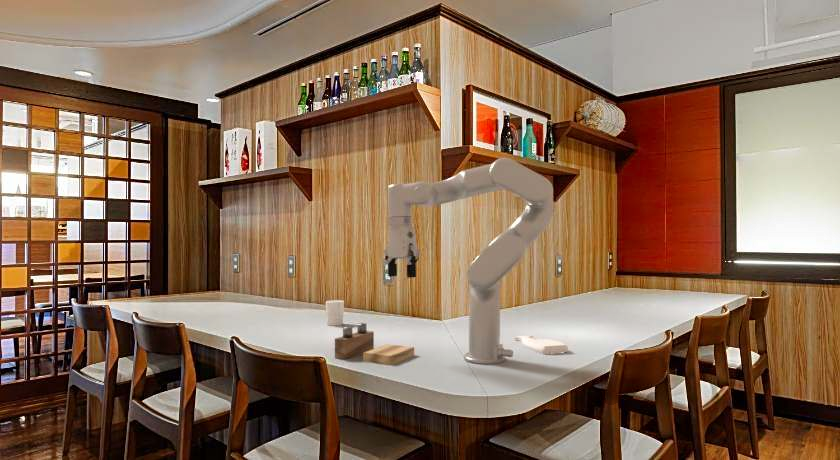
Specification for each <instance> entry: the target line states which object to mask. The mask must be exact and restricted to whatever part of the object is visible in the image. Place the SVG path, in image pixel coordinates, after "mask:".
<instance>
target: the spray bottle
mask: <svg viewBox="0 0 840 460" xmlns="http://www.w3.org/2000/svg"><path fill="white" fill-rule="evenodd" d="M515 340H518V342H521V341H522V342H521V343H522V344H523V346H524V347H525V348H526V349H528V348H529V349H528V350H530V349H531V350H530V351H532V350H534V351H533V352H535V351H536V352H535V353H538V352H539V353H538V354H541V353H543V354H542V355H549V354H548V353H560V354H562V353H561V352H567V353H568V351H569V347H568V346H567V345H566V344H565V343H563V342H560V341H557V340H554V339H545V338H544V339H541V338H539V339H538V338H534V336H533V335H518V336H514V341H515Z"/></svg>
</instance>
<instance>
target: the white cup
mask: <svg viewBox="0 0 840 460" xmlns="http://www.w3.org/2000/svg"><path fill="white" fill-rule="evenodd" d="M344 312H345V301H344V300H341V299H335V300H334V299H333V300H332V299H331V300H326V301H325V315H326V325H327V326H332V327H334V326H335V327H336V326H342V325H343V323H344V314H345V313H344Z"/></svg>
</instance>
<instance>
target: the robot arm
mask: <svg viewBox="0 0 840 460" xmlns="http://www.w3.org/2000/svg"><path fill="white" fill-rule="evenodd" d="M501 190H507V191H508V192H509V193H511V194H513V195H515V196H517V197H519V198H521V199H523V200H524V202H525V209H524V211H523V212H522V213H520V215H519V216H518V217H517V218H516V219H515V220H514V222H512V224H510V226H509V227H508V228H506V230H504V231H503V232H500V234H498V235H497V236H496V237H495V238H494V239H493V240H492V241H491V242H490V243H489V244H488V245H487V246H486V247H485V249H483V250H482V251H481V252H480V254H479V255H477V256H476V258H475V259H473V261H472V262H470V264H469V265H468V268H467V270H466V278H467V280H468V282H469V283H468V285H469V287H468V288H469V289H468V352H466V353H464V354H463V358H464V360H465V361H466V362H469V363H473V364H483V365H487V364H489V365H490V364H498V363H499V364H500V363H504V362H505V361H506V357H507V358H513V356H514V350H512V349H506V348H504V344H501V280H502V279H503V278H504V277H505V276H506V275H507V274H508V273H509V272H510V271H511V270H512V269H513V268H514V267H515V266H517V264H518V263H519V262H520V261H521V260H522V258H523V257H524V256H525V254H526V251H527V250H528V248H529V247H530V246H531V245H532V244H533V243H534V242H535V241H536V240H537V239H538V238H539V237H540V236H541V234H543V232H545V230H546V229H547V228H548V226H549V225H550V223H551V221H552V219H553V214H554V209H555V207H554V206H555V205H554V200H553V195H554V188H553V185H552V182H551V181H550V180H549V179H548V178H546V177H545V176H543V175H541V174H540V173H537V171H534V170H532V169H530V168H529V167H527V166H524V165H523V164H521V163H519V162H517V161H516V160H514V159H512V158H508V157H499V158H498V159H496V160H495V161H493V162H492V163H489V164H485V165H480V166H476V167H472V168H469V169H468V168H467V169H463V170H461V171H460V172H458V173H457V174H455V175H453V176H452V177H450V178H447V179H443V180H440V181H435V182H431V183H429V182H426V181H416V182H410V183H393V184H390V185H388V186H387V212H388V213H387V214H388V216H387V217H388V221H387V222H388V230H387V240H386V241H387V242H386V243H387V244H386V248H384V250H383V254H384V255H383V256H384V258H385V261H386V265H387V276H388V277H390V278H391V277H397V276H398V267H397V266H398V265H397V263H396V262H397V260H398V259H404V260H405V261H406V262H407V264H406V277H407V278H409V279H410V278H416V277H417V264H418V261H419V257H420V254H421V250H420V249H419V248H417V247H418V246H417V239H416V238H417V237H416V231H415V228H414V226H413V207H412V206H413V205H414V206H419V207H423V208H429V207H434V206H439V205H443V204H447V203H451V202H455V201H459V200H465V199H468V198H471V197H475V196H476V197H477V196H479V195H484V194H489V193H492V192H497V191H501Z"/></svg>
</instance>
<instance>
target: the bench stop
mask: <svg viewBox="0 0 840 460" xmlns="http://www.w3.org/2000/svg"><path fill="white" fill-rule="evenodd" d="M367 325H368V324H367V323H365V322H360V323H359V322H358V323H357V332H354V333H353V326H344V327H342V336H339V337H336V338H334V359H340V360H348V359H350V357H351V358H353V357H357V356H359V355H363V352H366V351H369V350H372V349H375V345H374V342H375V341H374V339H375V337H374V336H375V335H374V334H375V333H374V332H375V331H373V330H367Z"/></svg>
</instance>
